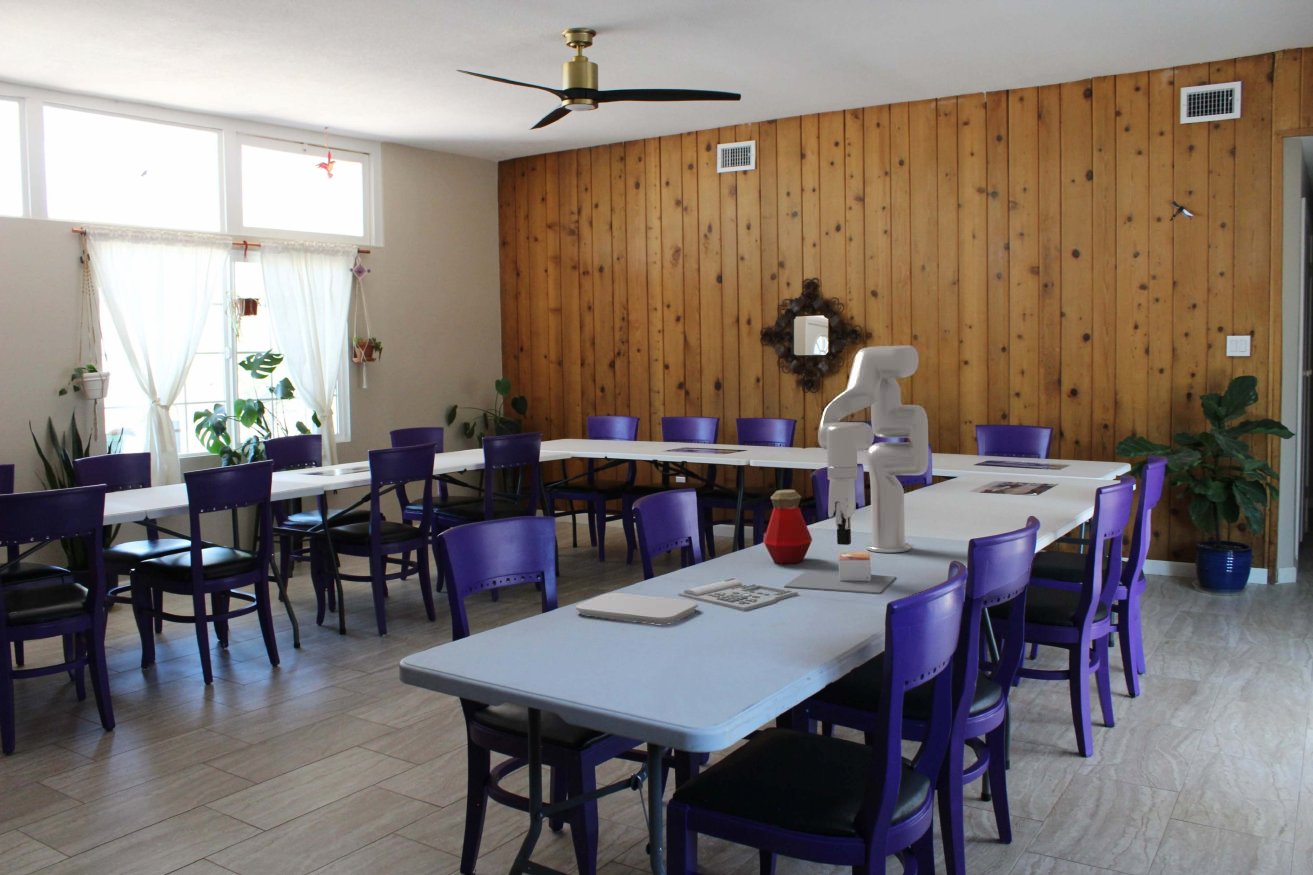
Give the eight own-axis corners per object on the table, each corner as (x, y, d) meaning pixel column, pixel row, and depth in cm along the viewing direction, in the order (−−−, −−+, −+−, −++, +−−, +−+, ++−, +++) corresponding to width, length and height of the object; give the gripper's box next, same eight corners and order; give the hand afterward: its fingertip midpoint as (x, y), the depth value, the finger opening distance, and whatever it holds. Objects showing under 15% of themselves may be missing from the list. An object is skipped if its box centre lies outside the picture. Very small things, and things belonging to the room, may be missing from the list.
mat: (805, 572, 262) (805, 571, 262) (895, 577, 252) (895, 576, 252) (784, 587, 246) (784, 585, 246) (879, 593, 235) (879, 592, 235)
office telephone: (676, 587, 242) (733, 574, 255) (677, 598, 242) (734, 584, 255) (743, 601, 224) (801, 586, 237) (744, 613, 224) (802, 597, 237)
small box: (869, 551, 257) (871, 559, 247) (870, 572, 257) (871, 581, 247) (838, 551, 258) (838, 559, 248) (839, 572, 259) (839, 581, 248)
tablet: (667, 629, 213) (667, 618, 213) (570, 617, 227) (570, 607, 226) (703, 611, 227) (702, 601, 227) (609, 601, 240) (609, 591, 240)
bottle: (799, 568, 267) (797, 495, 266) (754, 564, 274) (752, 493, 273) (821, 557, 281) (819, 488, 279) (778, 554, 288) (776, 486, 286)
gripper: (835, 469, 259) (837, 538, 260) (819, 476, 245) (821, 548, 247) (864, 470, 256) (865, 539, 257) (849, 477, 242) (851, 550, 243)
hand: (844, 543), depth 252 cm, fingers closed
